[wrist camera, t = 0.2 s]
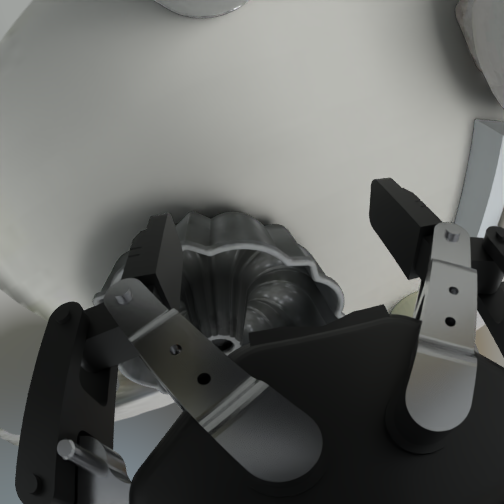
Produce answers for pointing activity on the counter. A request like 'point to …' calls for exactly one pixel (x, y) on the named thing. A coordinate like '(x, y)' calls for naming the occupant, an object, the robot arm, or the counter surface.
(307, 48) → the counter surface
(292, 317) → the bundt pan
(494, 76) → the ceramic pitcher
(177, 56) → the counter surface
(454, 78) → the counter surface
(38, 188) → the counter surface
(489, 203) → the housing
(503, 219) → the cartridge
